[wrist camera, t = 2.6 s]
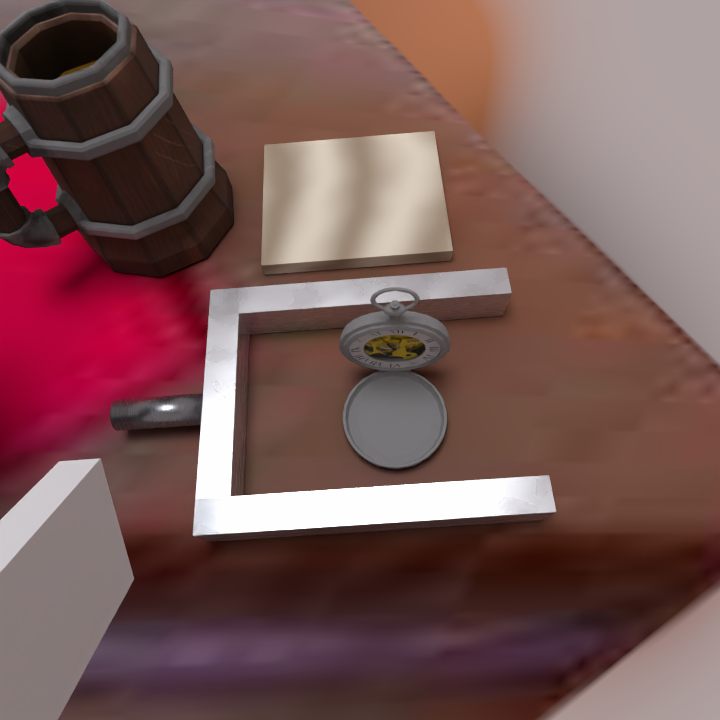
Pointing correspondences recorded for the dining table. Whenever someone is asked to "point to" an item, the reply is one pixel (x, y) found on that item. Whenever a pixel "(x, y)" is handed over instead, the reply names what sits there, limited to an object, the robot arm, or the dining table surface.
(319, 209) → the ash board
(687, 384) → the dining table surface
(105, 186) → the mug
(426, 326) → the pocket watch
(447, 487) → the u-shaped metal frame
